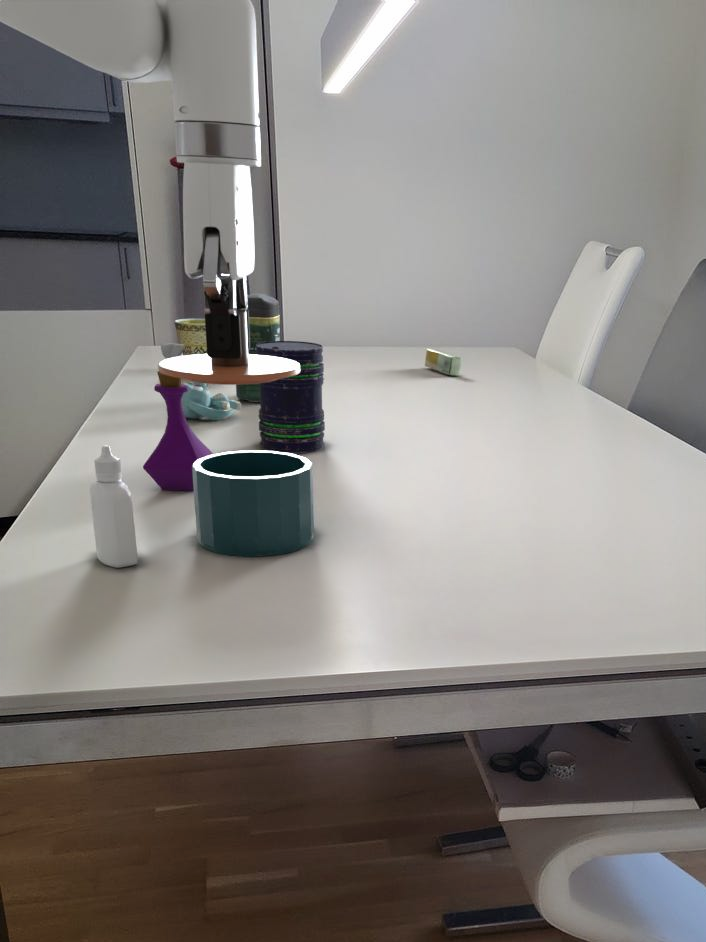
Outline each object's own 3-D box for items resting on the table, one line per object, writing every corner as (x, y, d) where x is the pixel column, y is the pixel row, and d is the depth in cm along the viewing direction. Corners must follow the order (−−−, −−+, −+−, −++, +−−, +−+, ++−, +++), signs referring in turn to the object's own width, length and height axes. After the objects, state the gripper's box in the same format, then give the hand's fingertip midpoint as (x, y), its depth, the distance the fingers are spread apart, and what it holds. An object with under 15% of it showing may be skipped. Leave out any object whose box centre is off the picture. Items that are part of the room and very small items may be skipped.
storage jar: (292, 436, 164) (289, 339, 158) (338, 446, 159) (337, 346, 153) (245, 446, 157) (240, 344, 151) (292, 456, 151) (289, 352, 146)
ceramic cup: (201, 375, 212) (198, 325, 208) (167, 369, 217) (164, 320, 213) (246, 369, 222) (244, 320, 218) (213, 363, 227) (211, 316, 223)
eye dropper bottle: (142, 551, 110) (131, 439, 105) (136, 568, 105) (125, 452, 100) (98, 552, 109) (86, 439, 104) (91, 570, 104) (78, 452, 99)
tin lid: (141, 385, 95) (135, 315, 93) (178, 363, 108) (174, 301, 105) (289, 390, 96) (287, 321, 93) (309, 368, 108) (307, 306, 106)
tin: (186, 555, 110) (181, 476, 106) (211, 520, 121) (206, 448, 118) (306, 558, 110) (304, 480, 107) (319, 523, 122) (317, 452, 118)
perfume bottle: (203, 495, 131) (193, 349, 124) (144, 492, 131) (131, 346, 124) (218, 480, 138) (209, 341, 131) (162, 477, 138) (150, 338, 131)
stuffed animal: (257, 385, 174) (191, 377, 165) (251, 428, 176) (186, 422, 167) (226, 376, 181) (161, 367, 173) (221, 417, 183) (157, 410, 175)
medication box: (460, 376, 225) (462, 357, 224) (449, 375, 224) (452, 357, 223) (434, 366, 235) (436, 348, 233) (423, 366, 233) (425, 347, 232)
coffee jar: (276, 404, 188) (272, 297, 180) (232, 402, 188) (227, 295, 180) (286, 394, 197) (282, 292, 189) (244, 393, 197) (239, 290, 189)
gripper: (198, 149, 101) (209, 341, 109) (152, 141, 86) (168, 365, 93) (275, 152, 102) (281, 344, 109) (242, 145, 86) (252, 369, 94)
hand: (229, 352), depth 101 cm, fingers closed on tin lid, 3 cm apart
